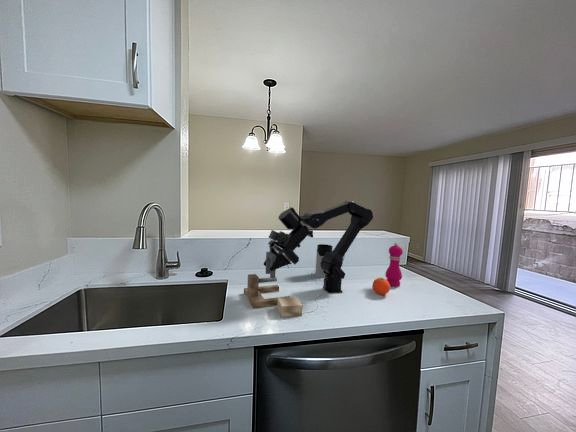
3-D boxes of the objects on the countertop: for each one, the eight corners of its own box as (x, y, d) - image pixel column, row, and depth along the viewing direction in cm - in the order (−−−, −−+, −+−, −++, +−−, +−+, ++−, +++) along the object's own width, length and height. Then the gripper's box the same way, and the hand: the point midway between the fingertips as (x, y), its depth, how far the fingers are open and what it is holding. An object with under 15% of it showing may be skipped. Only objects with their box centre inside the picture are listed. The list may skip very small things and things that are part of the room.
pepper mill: (384, 285, 118) (387, 242, 116) (384, 281, 125) (388, 240, 123) (401, 288, 115) (405, 244, 114) (400, 283, 122) (404, 242, 120)
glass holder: (315, 271, 134) (316, 243, 133) (342, 274, 131) (344, 245, 130) (313, 276, 126) (315, 246, 124) (343, 280, 123) (345, 249, 122)
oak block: (296, 306, 91) (297, 296, 91) (302, 315, 84) (302, 305, 84) (277, 307, 89) (277, 297, 89) (281, 316, 83) (281, 306, 82)
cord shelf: (277, 289, 106) (278, 268, 105) (290, 303, 93) (292, 279, 93) (243, 293, 101) (244, 270, 100) (253, 308, 88) (254, 282, 87)
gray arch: (269, 272, 100) (270, 251, 99) (275, 277, 94) (276, 255, 93) (265, 273, 99) (266, 251, 99) (271, 278, 93) (272, 255, 93)
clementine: (372, 289, 112) (373, 273, 112) (389, 292, 110) (390, 275, 109) (371, 295, 105) (372, 278, 104) (389, 298, 102) (391, 281, 102)
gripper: (273, 220, 105) (246, 248, 102) (292, 226, 88) (260, 259, 85) (290, 238, 109) (264, 266, 105) (311, 248, 92) (281, 281, 88)
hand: (267, 267), depth 96 cm, fingers closed on gray arch, 6 cm apart
